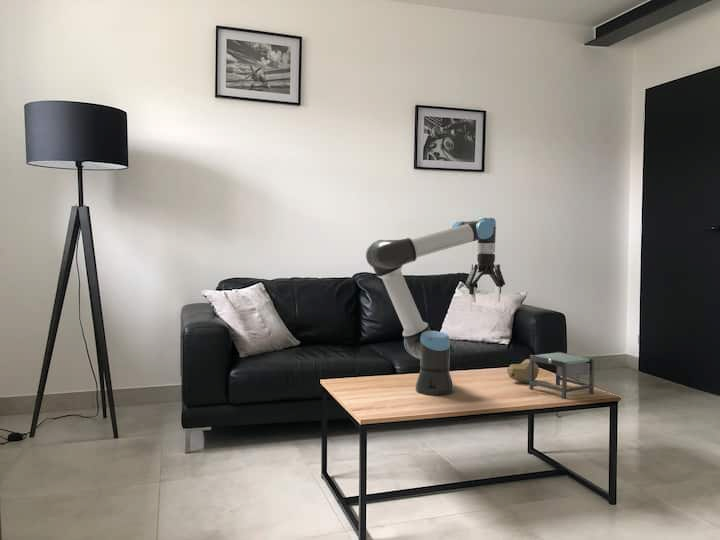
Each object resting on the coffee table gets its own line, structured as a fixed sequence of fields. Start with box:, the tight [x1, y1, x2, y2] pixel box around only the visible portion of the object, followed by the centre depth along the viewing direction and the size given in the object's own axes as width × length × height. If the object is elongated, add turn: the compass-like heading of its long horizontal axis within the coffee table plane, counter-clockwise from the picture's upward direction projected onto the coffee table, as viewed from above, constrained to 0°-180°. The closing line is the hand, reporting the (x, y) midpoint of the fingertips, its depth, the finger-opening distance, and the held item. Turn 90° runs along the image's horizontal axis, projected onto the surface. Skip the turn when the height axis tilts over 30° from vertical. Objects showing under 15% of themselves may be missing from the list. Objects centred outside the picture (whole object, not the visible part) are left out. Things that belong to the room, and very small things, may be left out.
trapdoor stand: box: [528, 351, 595, 400], centre depth 240 cm, size 18×18×14 cm
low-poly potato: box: [506, 358, 540, 384], centre depth 256 cm, size 15×11×12 cm
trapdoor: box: [533, 352, 590, 377], centre depth 240 cm, size 14×16×6 cm
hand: (485, 301), depth 259 cm, fingers open, 13 cm apart
